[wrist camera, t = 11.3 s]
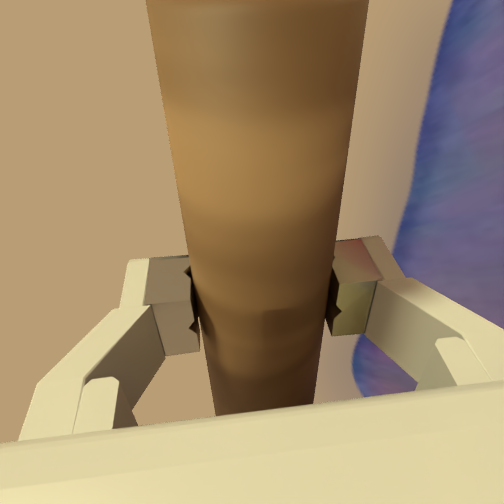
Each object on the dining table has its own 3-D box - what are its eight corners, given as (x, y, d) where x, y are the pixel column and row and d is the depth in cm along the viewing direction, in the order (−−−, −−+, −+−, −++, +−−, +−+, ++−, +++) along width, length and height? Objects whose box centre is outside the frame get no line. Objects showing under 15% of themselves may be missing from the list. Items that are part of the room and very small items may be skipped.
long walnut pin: (274, 516, 14) (287, 25, 4) (205, 458, 15) (98, 1, 6) (321, 441, 16) (405, -15, 6) (255, 396, 17) (240, -25, 8)
